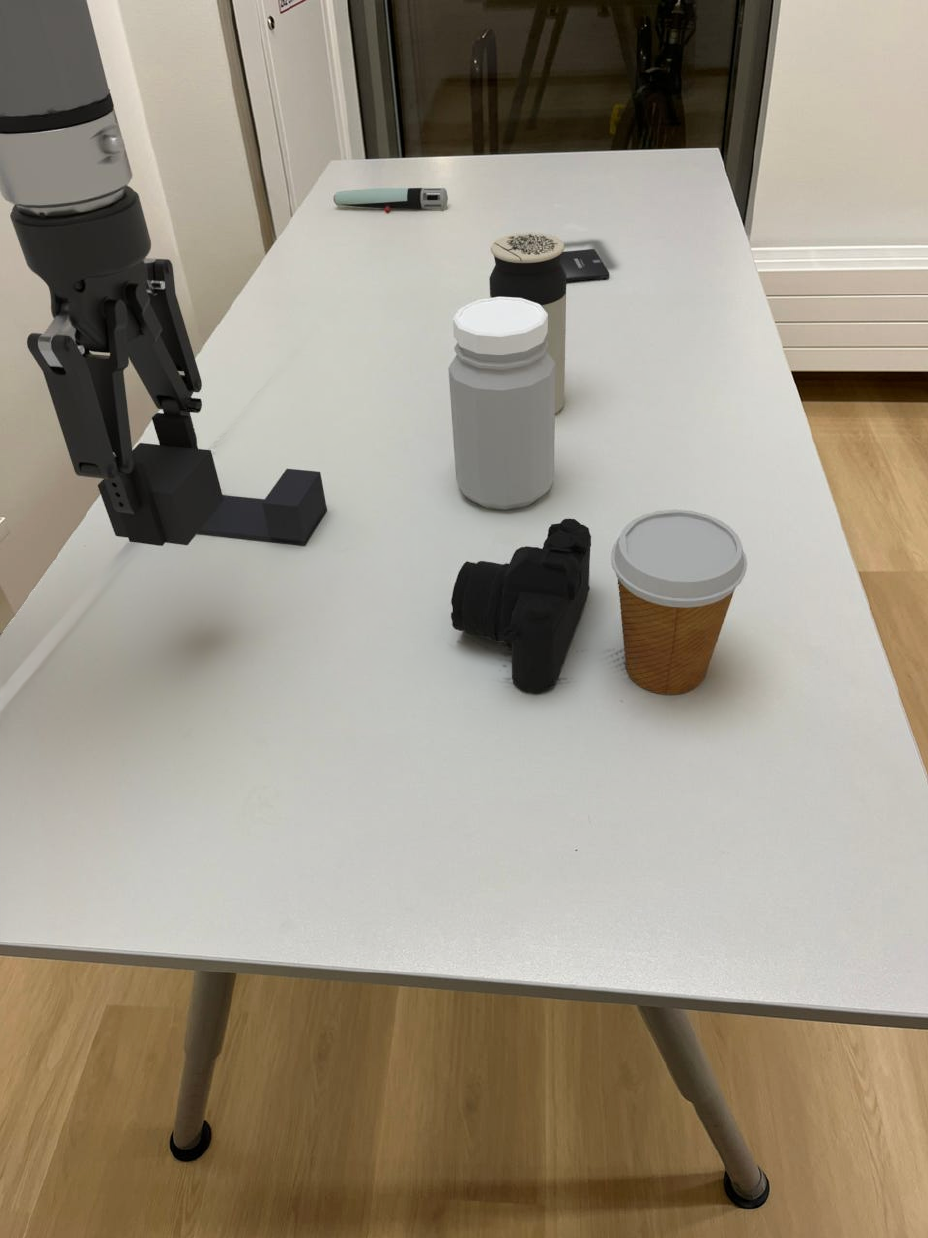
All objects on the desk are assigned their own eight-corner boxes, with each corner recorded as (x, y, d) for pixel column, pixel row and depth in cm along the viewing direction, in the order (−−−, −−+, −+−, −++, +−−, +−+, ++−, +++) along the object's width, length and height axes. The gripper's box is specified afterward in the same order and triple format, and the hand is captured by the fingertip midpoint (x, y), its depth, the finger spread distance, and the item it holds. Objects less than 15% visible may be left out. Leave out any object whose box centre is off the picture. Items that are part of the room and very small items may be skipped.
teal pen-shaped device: (328, 204, 161) (444, 203, 158) (332, 184, 163) (447, 183, 159) (333, 218, 164) (447, 218, 161) (337, 198, 166) (450, 197, 162)
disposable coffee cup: (638, 612, 80) (649, 492, 72) (747, 653, 76) (770, 530, 68) (582, 680, 74) (587, 558, 66) (695, 728, 70) (715, 603, 62)
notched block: (162, 529, 93) (150, 491, 90) (190, 496, 98) (179, 458, 95) (305, 546, 90) (297, 506, 87) (327, 510, 94) (320, 471, 91)
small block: (115, 536, 71) (96, 485, 68) (155, 492, 75) (139, 442, 72) (187, 545, 69) (171, 493, 66) (224, 500, 74) (211, 449, 71)
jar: (456, 516, 92) (443, 340, 80) (457, 463, 99) (446, 295, 88) (557, 512, 92) (559, 335, 80) (551, 459, 99) (552, 289, 87)
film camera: (494, 567, 86) (490, 482, 80) (599, 585, 83) (604, 499, 77) (434, 681, 75) (425, 593, 69) (553, 706, 72) (554, 617, 66)
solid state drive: (594, 253, 142) (594, 248, 141) (609, 278, 134) (610, 273, 134) (548, 257, 142) (548, 252, 141) (561, 282, 134) (561, 278, 134)
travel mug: (547, 383, 112) (547, 226, 100) (575, 413, 106) (580, 250, 94) (483, 397, 110) (477, 239, 98) (509, 428, 104) (505, 264, 93)
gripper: (32, 256, 49) (152, 600, 64) (202, 150, 63) (267, 454, 78) (-89, 249, 51) (56, 586, 66) (102, 148, 65) (185, 446, 80)
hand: (170, 514), depth 72 cm, fingers closed on small block, 6 cm apart
